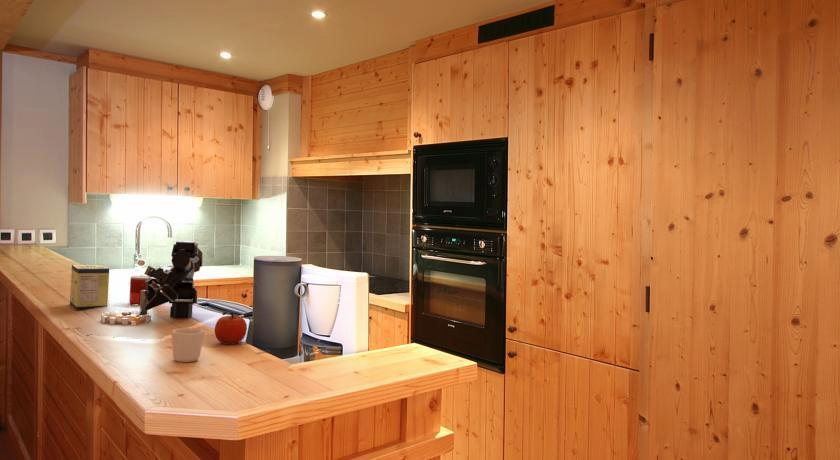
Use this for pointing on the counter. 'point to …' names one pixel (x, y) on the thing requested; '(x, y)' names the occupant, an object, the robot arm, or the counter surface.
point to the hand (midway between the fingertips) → (142, 307)
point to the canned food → (137, 288)
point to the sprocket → (129, 313)
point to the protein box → (89, 287)
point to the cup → (187, 344)
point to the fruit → (230, 328)
